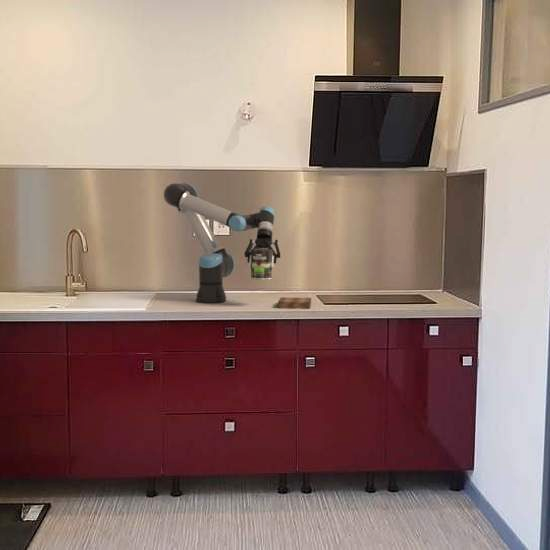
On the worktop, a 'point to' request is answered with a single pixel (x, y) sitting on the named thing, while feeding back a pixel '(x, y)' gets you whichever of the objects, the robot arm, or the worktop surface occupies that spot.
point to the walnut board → (294, 303)
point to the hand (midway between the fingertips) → (261, 267)
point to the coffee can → (261, 264)
